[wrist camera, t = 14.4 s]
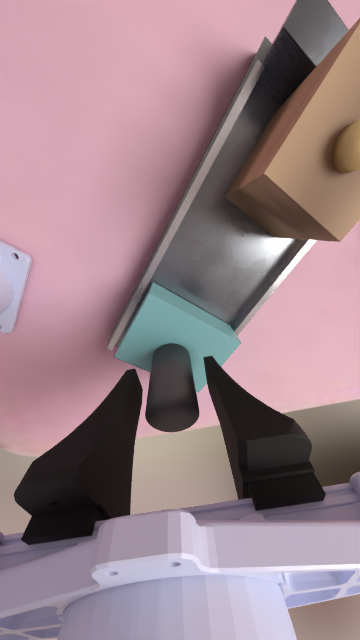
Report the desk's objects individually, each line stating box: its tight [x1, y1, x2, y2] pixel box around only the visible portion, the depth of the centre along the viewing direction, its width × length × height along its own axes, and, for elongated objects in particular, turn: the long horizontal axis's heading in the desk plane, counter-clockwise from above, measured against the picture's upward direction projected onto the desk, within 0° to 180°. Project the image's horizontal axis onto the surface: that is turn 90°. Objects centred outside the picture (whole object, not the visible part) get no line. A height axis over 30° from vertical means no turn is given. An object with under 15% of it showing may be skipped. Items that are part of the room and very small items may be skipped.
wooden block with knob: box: [225, 19, 360, 242], centre depth 10 cm, size 5×5×6 cm
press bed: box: [107, 0, 349, 351], centre depth 14 cm, size 10×22×4 cm, turn 149°
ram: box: [114, 282, 241, 432], centre depth 14 cm, size 8×6×8 cm
